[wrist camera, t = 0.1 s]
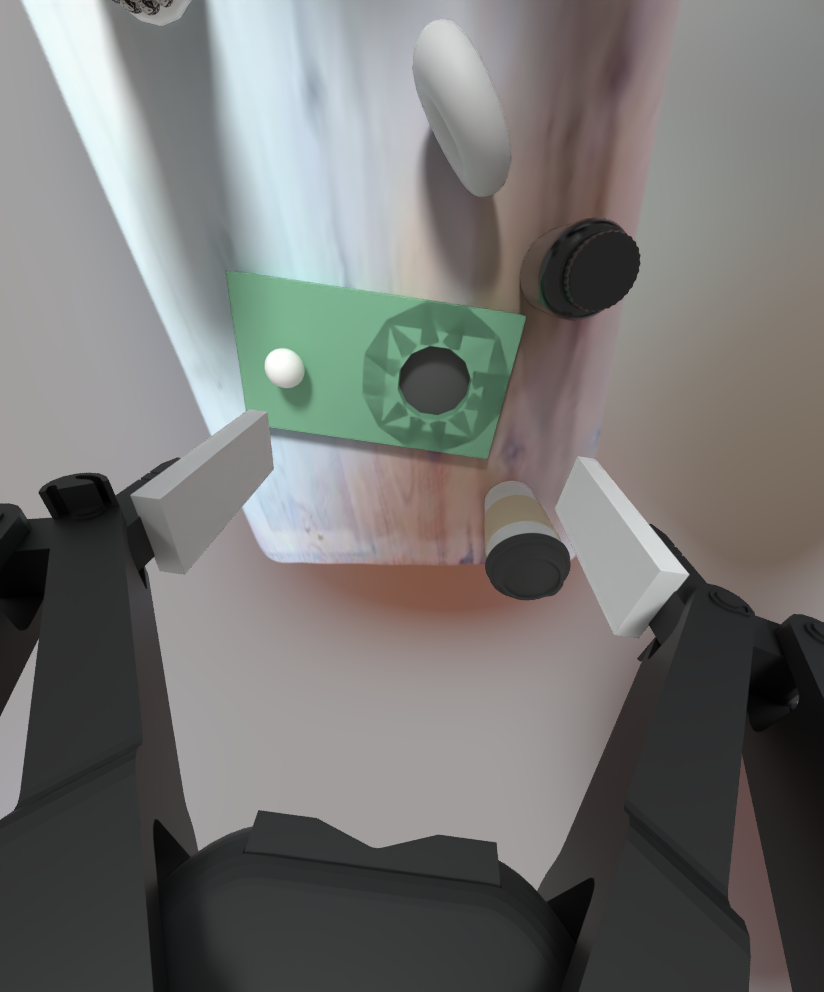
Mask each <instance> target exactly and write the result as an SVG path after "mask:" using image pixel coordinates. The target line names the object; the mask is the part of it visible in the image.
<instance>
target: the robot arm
mask: <svg viewBox="0 0 824 992" xmlns="http://www.w3.org/2000/svg"><path fill="white" fill-rule="evenodd" d="M273 469H274V466H273V457H272V448H271V439H270V429H269V420H268V412H267V411H260V410H253V409H249V410H247V411H246V412H244V413H243V414H242V415H240V416H239V417H238V418H236V419H235V420H233V421H232V422H231V423H229V424H228V425H226V426H225V427H224V428H222V429H221V430H220V431H218V432H217V433H215V434H214V435H213V436H211V437H210V438H209V439H207V440H206V441H204V442H203V443H202V444H200V445H199V446H198V447H196V448H195V449H194V450H192V451H191V452H189V453H188V454H187V455H185V456H184V457H182V458H175V459H172V460H170V461H167V462H165V463H162V464H160V465H159V466H158V467H156V468H155V469H153V470H152V471H150V473H147V474H146V475H145V476H143V477H142V478H141V480H137V481H136V482H134V483H133V484H132V485H130V486H129V487H127V488H126V489H124V490H123V491H121V492H120V493H119V494H117V495H116V496H115V494H114V492H113V489H112V487H111V484H110V482H109V480H108V478H107V477H106V476H104V475H101V474H99V473H79V474H73V475H69V476H64V477H61V478H58V479H55V480H53V481H50V482H49V483H47V484H46V485H44V486H43V487H42V488H41V489H40V491H39V495H40V496H41V498H42V500H43V502H44V504H45V505H46V507H47V509H48V511H49V512H50V514H51V516H52V518H40V519H27V518H26V516H25V515H24V513H23V512H22V510H21V509H20V508H19V506H17V505H13V504H0V716H1V714H2V712H3V710H4V708H5V706H6V704H7V702H8V700H9V697H10V695H11V693H12V691H13V689H14V687H15V685H16V683H17V681H18V679H19V677H20V675H21V673H22V671H23V669H24V667H25V665H26V663H27V661H28V659H29V657H30V655H31V653H32V651H33V649H34V647H35V645H36V643H37V641H38V639H39V643H38V651H37V660H36V667H35V676H34V684H33V692H32V700H31V708H30V717H29V725H28V734H27V741H26V749H25V758H24V766H23V774H22V782H21V791H20V796H19V800H18V804H17V806H16V807H15V809H14V811H13V812H11V813H10V814H8V815H7V816H5V817H4V818H2V819H1V820H0V992H749V975H750V959H751V956H750V938H749V933H748V931H747V928H746V925H745V922H744V920H743V919H742V918H741V917H740V916H739V915H738V914H737V913H736V912H735V911H734V910H733V909H732V908H731V907H730V904H729V901H728V882H729V872H730V863H731V853H732V843H733V834H734V824H735V814H736V805H737V796H738V786H739V777H740V767H741V758H742V756H743V760H744V765H745V769H746V774H747V779H748V784H749V789H750V793H751V798H752V803H753V807H754V812H755V817H756V822H757V826H758V831H759V835H760V840H761V845H762V850H763V855H764V859H765V864H766V869H767V873H768V878H769V883H770V887H771V892H772V897H773V902H774V906H775V911H776V916H777V920H778V925H779V930H780V935H781V939H782V944H783V949H784V954H785V958H786V963H787V968H788V972H789V977H790V982H791V987H792V991H793V992H824V622H821V621H819V620H817V619H814V618H812V617H809V616H805V615H802V614H793V615H792V616H790V617H789V618H788V619H787V620H785V621H784V622H783V623H782V624H778V623H775V622H772V621H769V620H767V619H764V618H761V617H758V616H755V613H754V611H753V610H752V609H751V607H750V606H749V605H748V604H747V603H746V602H745V601H744V600H742V599H741V598H740V597H739V596H737V595H735V594H734V593H732V592H730V591H728V590H726V589H724V588H722V587H719V586H716V585H711V584H707V583H706V582H705V580H704V579H703V578H702V577H701V576H700V574H699V573H698V572H697V571H696V570H695V569H694V567H693V566H692V565H691V564H690V563H689V561H688V560H687V559H686V558H685V557H684V556H682V553H681V552H680V551H679V550H678V548H677V547H674V546H675V545H674V544H673V543H672V541H671V540H670V539H669V538H668V537H667V536H666V534H664V533H663V532H662V531H660V530H659V529H657V528H656V527H655V526H653V525H652V524H648V523H647V522H646V521H645V519H644V518H643V517H642V516H641V515H640V513H639V512H638V511H637V510H636V508H635V507H634V506H633V505H632V504H631V502H630V501H629V500H628V498H627V497H626V496H625V495H624V494H623V492H622V491H621V490H620V489H619V487H618V486H617V485H616V484H615V482H614V481H613V480H612V479H611V478H610V476H609V475H608V474H607V473H606V471H605V470H604V469H603V468H602V466H601V465H600V464H599V463H598V462H597V460H596V459H592V458H585V457H578V456H577V459H576V461H575V463H574V465H573V468H572V470H571V472H570V475H569V477H568V479H567V482H566V484H565V486H564V489H563V491H562V493H561V496H560V498H559V500H558V503H557V505H556V507H555V511H556V513H557V515H558V517H559V519H560V522H561V524H562V526H563V528H564V530H565V532H566V534H567V536H568V539H569V541H570V543H571V545H572V547H573V549H574V551H575V553H576V556H577V558H578V559H579V562H580V564H581V566H582V568H583V570H584V572H585V574H586V577H587V579H588V581H589V583H590V585H591V587H592V589H593V592H594V593H595V596H596V598H597V600H598V602H599V604H600V606H601V608H602V610H603V613H604V614H605V617H606V619H607V621H608V623H609V625H610V628H611V630H612V632H613V634H614V635H620V636H627V637H633V638H639V637H640V636H641V635H642V633H643V632H644V631H645V630H646V628H647V627H648V626H650V628H651V629H652V631H653V633H654V634H655V636H656V637H655V638H654V639H653V641H652V642H651V643H650V644H649V645H648V646H647V648H646V649H645V650H644V651H643V652H642V654H641V655H640V656H639V657H638V658H637V659H638V660H639V661H642V663H641V665H640V668H639V670H638V672H637V675H636V677H635V679H634V681H633V684H632V686H631V689H630V691H629V693H628V695H627V698H626V700H625V702H624V705H623V707H622V710H621V712H620V714H619V717H618V719H617V721H616V724H615V726H614V728H613V731H612V733H611V735H610V738H609V740H608V742H607V745H606V747H605V749H604V752H603V754H602V757H601V759H600V761H599V764H598V766H597V768H596V771H595V773H594V775H593V778H592V780H591V782H590V785H589V787H588V789H587V792H586V794H585V796H584V799H583V801H582V803H581V806H580V808H579V810H578V813H577V815H576V817H575V820H574V822H573V824H572V827H571V829H570V832H569V834H568V836H567V839H566V841H565V843H564V846H563V848H562V850H561V852H560V854H559V855H558V857H557V859H556V860H555V862H554V863H553V865H552V866H551V868H550V869H549V870H548V872H547V874H546V875H545V877H544V879H543V881H542V882H541V884H540V887H539V888H538V891H536V890H535V889H534V888H533V887H532V885H530V884H529V883H528V882H527V881H526V880H525V879H524V878H523V877H522V876H521V875H519V874H518V873H517V872H515V871H514V870H513V869H511V868H510V867H509V866H507V865H506V864H504V863H502V862H501V861H499V860H498V854H497V843H496V842H488V841H482V840H474V839H467V838H459V837H452V836H444V835H435V836H430V837H426V838H422V839H418V840H413V841H409V842H405V843H400V844H396V845H392V846H388V847H383V848H372V847H370V846H368V845H366V844H364V843H362V842H360V841H359V840H357V839H355V838H353V837H351V836H349V835H347V834H345V833H344V832H342V831H340V830H338V829H336V828H334V827H332V826H330V825H329V824H327V823H325V822H323V821H321V820H319V819H317V818H312V817H311V818H310V817H304V816H297V815H289V814H282V813H275V812H267V811H260V810H259V811H258V813H257V816H256V819H255V822H254V825H253V827H248V828H244V829H241V830H239V831H236V832H233V833H230V834H228V835H226V836H224V837H222V838H220V839H218V840H216V841H214V842H212V843H210V844H209V845H207V846H206V847H204V848H203V849H202V850H200V851H198V848H197V843H196V838H195V834H194V830H193V826H192V822H191V819H190V816H189V813H188V811H187V807H186V803H185V798H184V793H183V787H182V781H181V775H180V768H179V762H178V756H177V750H176V744H175V738H174V731H173V726H172V719H171V713H170V707H169V701H168V694H167V688H166V682H165V676H164V670H163V663H162V657H161V651H160V645H159V639H158V633H157V626H156V621H155V614H154V608H153V601H152V595H151V589H150V583H149V577H148V573H147V571H146V568H145V565H146V564H147V563H148V562H149V561H150V560H151V559H152V558H153V557H155V560H156V562H157V565H158V568H159V570H160V571H164V572H171V573H178V574H186V573H187V572H188V570H189V569H190V568H191V567H192V566H193V564H194V563H195V562H196V561H197V560H198V558H199V557H200V556H201V555H202V554H203V552H204V551H205V550H206V549H207V548H208V547H209V545H210V544H211V543H212V542H213V541H214V539H215V538H216V537H217V536H218V535H219V534H220V532H221V531H222V530H223V529H224V528H225V526H226V525H227V524H228V523H229V522H230V520H231V519H232V518H233V517H234V516H235V515H236V513H237V512H238V511H239V510H240V509H241V507H242V506H243V505H244V504H245V503H246V501H247V500H248V499H249V498H250V497H251V496H252V494H253V493H254V492H255V491H256V490H257V488H258V487H259V486H260V485H261V484H262V482H263V481H264V480H265V479H266V478H267V477H268V475H269V474H270V473H271V472H272V471H273ZM796 702H798V704H797V703H796Z"/></svg>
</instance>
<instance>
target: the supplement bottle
mask: <svg viewBox="0 0 824 992" xmlns="http://www.w3.org/2000/svg"><path fill="white" fill-rule="evenodd" d="M639 266H640V254H639V248H638V247H637V246H636V242H635V241H633V239H632V237H631V236H628V235H627V234H626V233H625V231H624V230H623V229H622V228H621V227H620V226H619V225H618V224H617V223H615V222H614V221H612V220H609V219H606V218H588V219H584V220H580V221H577V222H574V223H571V224H568V225H565V226H561V227H558V228H555V229H553V230H551V231H549V232H547V233H545V234H544V235H542V236H541V237H540V238H538V239H537V240H536V241H535V242H534V244H533V245H532V246H531V247H530V249H529V250H528V252H527V254H526V256H525V258H524V260H523V263H522V267H521V272H520V284H521V289H522V292H523V294H524V296H525V298H526V300H527V301H528V302H529V303H530V304H531V305H532V306H534V307H535V308H537V309H539V310H541V311H544V312H546V313H549V314H551V315H553V316H556V317H558V318H561V319H565V320H572V321H576V320H583V319H587V318H590V317H592V316H594V315H596V314H598V313H600V312H601V311H603V310H604V309H605V308H610V307H611V306H612V305H615V304H616V303H617V302H618V301H620V300H622V299H623V297H624V296H625V295H626V294H628V292H629V289H630V288H632V287H633V283H634V281H635V280H636V278H637V274H638V272H639Z"/></svg>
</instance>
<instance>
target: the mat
mask: <svg viewBox="0 0 824 992" xmlns="http://www.w3.org/2000/svg"><path fill="white" fill-rule="evenodd" d="M226 275H227V282H228V289H229V296H230V303H231V310H232V317H233V324H234V331H235V338H236V345H237V352H238V359H239V366H240V373H241V380H242V387H243V394H244V401H245V408H246V411H247V410H249V409H253V410H260V411H267V412H268V420H269V427H272V428H278V429H285V430H292V431H299V432H306V433H313V434H319V435H326V436H333V437H340V438H347V439H354V440H360V441H367V442H374V443H381V444H388V445H395V446H402V447H408V448H415V449H422V450H429V451H436V452H443V453H449V454H456V455H463V456H470V457H477V458H484V459H487V458H488V454H489V451H490V447H491V444H492V440H493V436H494V433H495V429H496V425H497V422H498V418H499V415H500V411H501V407H502V404H503V400H504V396H505V393H506V389H507V385H508V382H509V378H510V375H511V371H512V367H513V364H514V360H515V356H516V353H517V349H518V346H519V342H520V338H521V335H522V331H523V327H524V324H525V320H526V317H527V316H525V315H523V314H518V313H511V312H504V311H498V310H491V309H484V308H478V307H471V306H464V305H458V304H451V303H444V302H438V301H431V300H424V299H418V298H411V297H404V296H398V295H391V294H384V293H378V292H371V291H364V290H358V289H351V288H344V287H338V286H331V285H324V284H318V283H311V282H304V281H298V280H291V279H285V278H278V277H271V276H265V275H258V274H251V273H245V272H238V271H226ZM279 348H286V349H289V350H292V351H294V352H295V353H296V354H297V355H298V356H299V357H300V358H301V360H302V361H303V364H304V369H305V373H304V377H303V379H302V381H301V382H300V383H299V384H298V385H297V386H295V387H292V388H282V387H279V386H277V385H275V384H274V383H272V382H271V381H270V379H269V378H268V376H267V375H266V372H265V360H266V358H267V356H268V355H269V353H270V352H272V351H273V350H275V349H279Z"/></svg>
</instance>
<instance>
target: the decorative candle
mask: <svg viewBox="0 0 824 992" xmlns="http://www.w3.org/2000/svg"><path fill="white" fill-rule="evenodd" d="M112 1H114V2H116V3H119V4H120V5H121V6H123V7H124V8H125V9H126V10H128V11H129V12H130V13H131V14H133V15H134V16H135V17H136V18H138V19H139V20H140V21H143V22H147V23H151V24H155V25H159V26H164V25H166V24H169V23H171V22H173V21H176V20H178V19H180V18H181V16H182V15H183V13H184V12H185V10H186V9H187V7H188V5H189V4H190V2H191V1H192V0H112Z"/></svg>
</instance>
